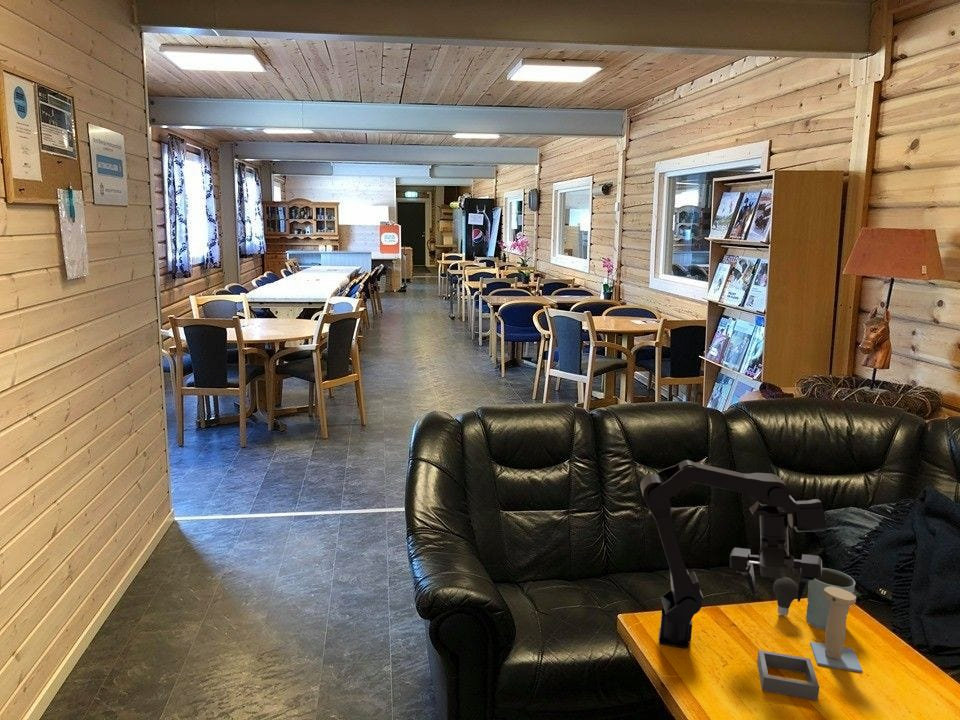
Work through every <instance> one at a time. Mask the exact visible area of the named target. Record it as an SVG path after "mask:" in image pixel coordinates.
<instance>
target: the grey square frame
mask: <svg viewBox="0 0 960 720" xmlns="http://www.w3.org/2000/svg"><path fill="white" fill-rule="evenodd" d="M756 660H757V662H756V663H757V668H758V673H759V680H760V685H761V689H762V692H769V693H774V694H780V695H786V696H791V697H794V698H795V697H796V698H802V699H806V700H812V701H818V700H819V695H820V694H819V693H820V684H819V682H818V678H817V675H816V672H815V669H814V667H813V663H812V660H811V658H810V657H809V658H808V657H801V656H797V655H791V654H785V653H779V652H774V651H773V652H772V651H768V650H762V649H758V651H757V659H756ZM768 668H772V669H778V670H779V669H780V670H785V671H791V672H796V673H801V674H804V675H805V680H806V681H802V680H797V679H792V678H791V679H790V678H785V677H780V676H774V675H769V672H768Z"/></svg>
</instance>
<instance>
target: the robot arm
mask: <svg viewBox="0 0 960 720" xmlns="http://www.w3.org/2000/svg"><path fill="white" fill-rule="evenodd" d="M692 483H695V484H699V485H703V486H708V487H713V488H717V489H721V490H726V491H729V492H735V493H739V494H743V495H746V496H748V497H750V498H752V499H754V500H755V501H756V502H755V503H754V504H753V505H751V506H750V507H749V511H750V512H751V514H752V515H753V516H754V517H757V516H759V530H760V531H759V533H760V534H759V535H760V548H759V551H758V554H751V553H752V552H751V549H750V548H742V547H733V548H732V550H731V552H730V555H729V559H728V560H729V568H730V569H732V570H733V569H734V570H735V571H736V572H737V573H741V575H742V576H743V577H744V578H745V580H746V582H747V584H748V587H749V589H750V592H751V593H752V596H753V597H756V595H757V592H756V590H757V589H756V588H757V586H756V579H755V578H756V577H755V571H754V565H759V571H760V573H759V574H760V576H762V577H763V578H776V580H777V579H782V578H784V577H785V576H786V575H785V574H789V573H794V572H795V569H796V570H797V569H798V570H800V573H799V582H798V586H797V587H798V594H797V596H796V598H797V602H798V603H799V602H800V601H801V598H802V596H803V594H804V592H805V588H806V585H807V584H808V583H809V580H815V578H821V574H822V568H823V560H822V559H823V558H822V557H820V556H819V555H813V554H803V553H802V554H801V559H797V558H796V559H795V557H794V555H790V551H789V549H790V548H789V526H790V528H793V529H794V530H795V531H796V532H797V533H802V532H804V533H805V532H809V533H810V532H825V531H826V530H827V526H828V525H827V524H828V523H827V518H826V514H825V511H824V508H823V502H822V501H821V500H820V499H819V498H815V499H808V500H795V499H794V498H793V497H792V495H790V493H791V492H790V489H789V487H788V485H787V484H785V482H784V481H783V480H782V479H781V478H780V477H779V476H778V475H777V474H774V473H769V472H768V473H767V472H766V473H765V472H752V473H751V472H750V473H743V472H738V471H734V470H729V469H725V468H720V467H716V466H712V465H708V464H707V465H706V464H702V463H698V462H694V461H692V460H689V459H685V460H682V461H680V462H678V463H676V464H675V465H671V466H669V467H666V468H663V469H662V470H660V471H658V472H656V473H649V474H647V475H645V476H644V477H643V478H642V479H641V481H640V485H639V486H640V490H641V493H642V497H643V500H644V502H645V504H646V506H647V508H648V510H649V512H650V513H651V516H652V517H653V519H654V521H655V523H656V527H657V530H658V534H659V538H660V540H661V544H662V547H663V550H664V554H665V558H666V560H667V564H668V569H669V575H670V578H669V579H670V589H669V590H667V591H666V592H665V593H663V594H662V595H661V597H660V599H661V603H662V605H663V608H661V615H660V616H661V617H660V628H659V630H658V631H659V634H658V643H659V644H661V645H667V646H673V647H677V648H684V649H688V648H689V647H690V646H689V644H690V643H691V640H692V633H693V632H692V631H693V620H692V619H693V617H694V616H695V615H696V614H698V613H699V611H700V610H701V609H702V607H703V606H702V605H703V604H702V601H704V600H705V598H704V596H703V593H702V590H701V588H700V586H701V585H700V582H699V580H698V577H697V575H696V572H695V570H694V571H692V572H689V570H688V569H687V566H686V563H685V559H684V556H683V552H682V549H681V545H680V543H679V539H678V536H677V532H676V529H675V525H674V522H673V519H672V502H671V498H673V497H675V496H677V495H678V494H679V493H680V492H682V491H683V489H685V488H686V487H687V486H688V485H690V484H692ZM761 503H762V504H761Z"/></svg>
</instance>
